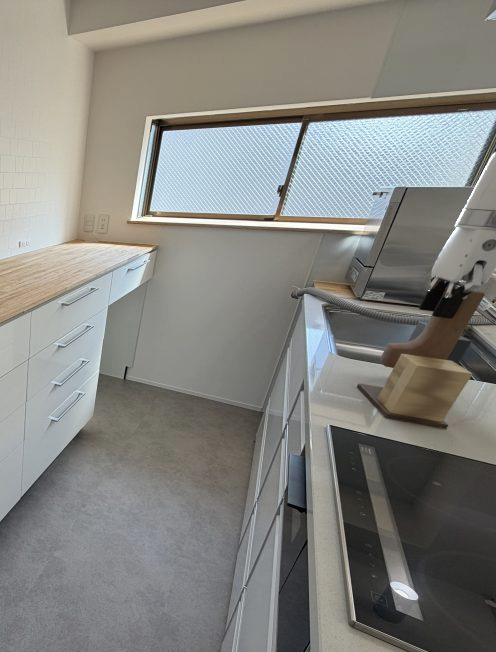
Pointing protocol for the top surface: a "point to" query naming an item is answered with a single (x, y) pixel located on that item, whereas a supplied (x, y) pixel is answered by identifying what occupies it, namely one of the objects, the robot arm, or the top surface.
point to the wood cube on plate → (419, 390)
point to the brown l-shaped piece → (436, 334)
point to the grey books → (456, 351)
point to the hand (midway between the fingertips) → (435, 312)
